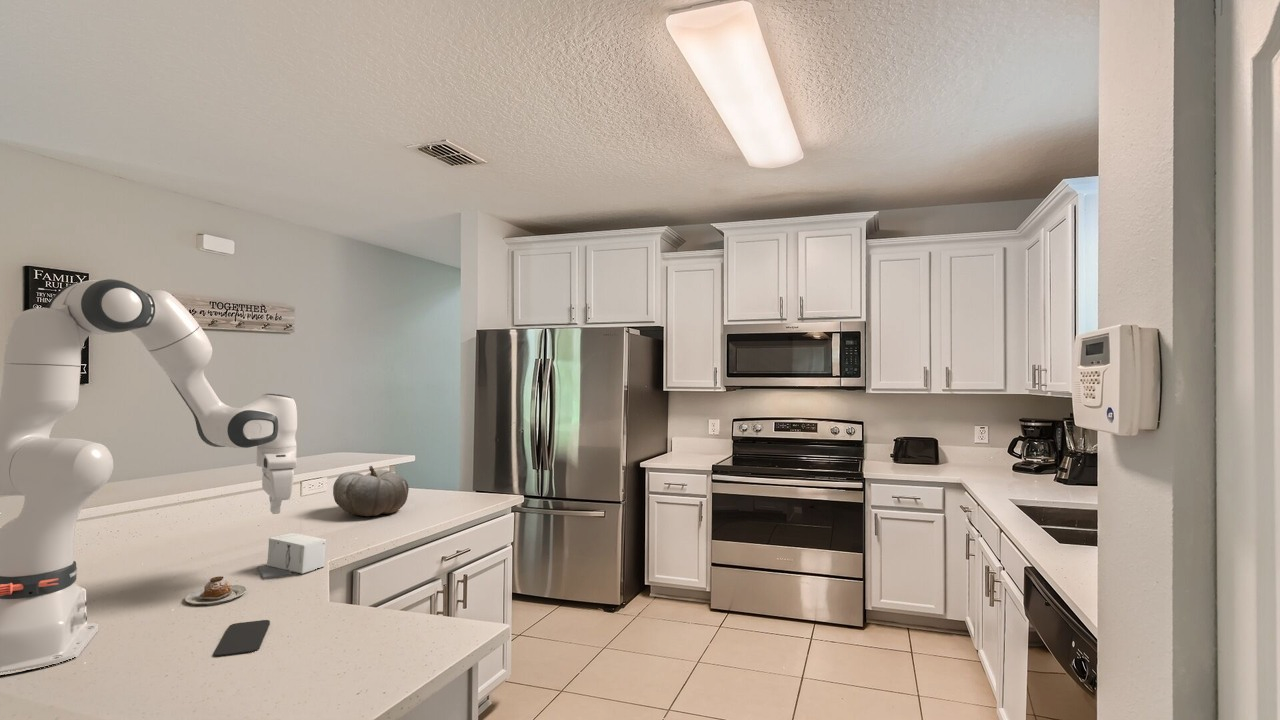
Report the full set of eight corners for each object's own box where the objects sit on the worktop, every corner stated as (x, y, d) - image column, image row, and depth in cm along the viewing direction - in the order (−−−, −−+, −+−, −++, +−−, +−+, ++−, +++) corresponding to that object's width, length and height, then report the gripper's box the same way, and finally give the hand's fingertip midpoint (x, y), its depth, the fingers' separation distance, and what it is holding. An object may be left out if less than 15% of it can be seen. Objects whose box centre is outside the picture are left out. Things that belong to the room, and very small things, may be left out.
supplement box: (267, 537, 171) (304, 544, 166) (292, 532, 178) (327, 538, 173) (265, 566, 170) (302, 574, 166) (289, 559, 177) (325, 567, 173)
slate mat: (290, 574, 166) (290, 572, 166) (263, 579, 163) (263, 576, 163) (283, 564, 174) (283, 562, 174) (257, 568, 171) (257, 566, 171)
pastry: (259, 592, 155) (259, 573, 155) (213, 611, 143) (213, 590, 143) (219, 587, 158) (219, 568, 158) (171, 604, 147) (171, 584, 147)
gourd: (312, 510, 224) (323, 459, 226) (362, 507, 248) (372, 460, 250) (372, 524, 217) (383, 471, 219) (418, 519, 240) (428, 472, 242)
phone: (211, 655, 121) (229, 623, 135) (211, 660, 121) (229, 627, 135) (258, 649, 123) (271, 619, 137) (258, 654, 123) (271, 623, 137)
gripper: (256, 454, 173) (255, 507, 173) (268, 463, 157) (267, 521, 157) (283, 453, 177) (282, 504, 177) (298, 461, 161) (296, 518, 160)
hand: (275, 513), depth 166 cm, fingers closed
